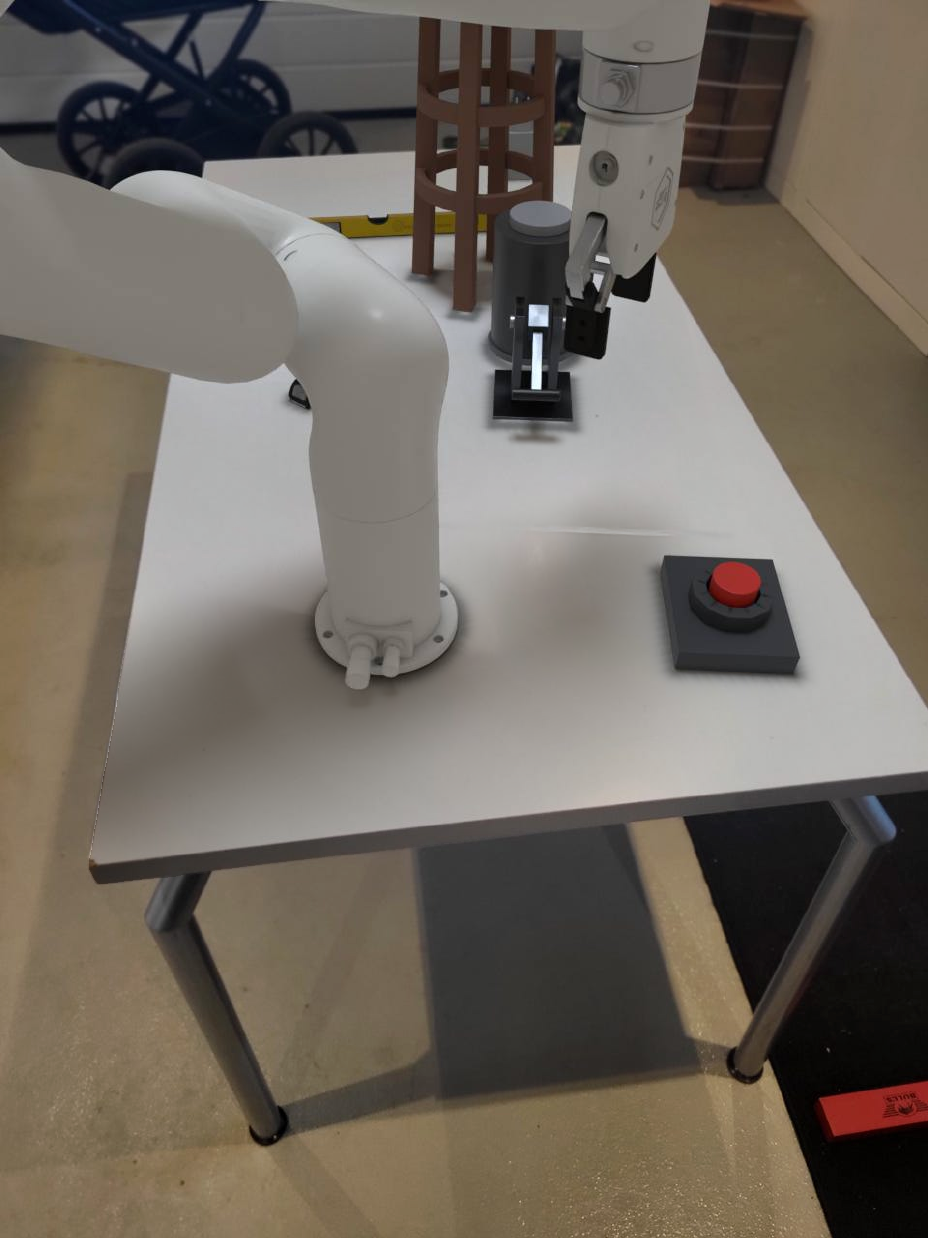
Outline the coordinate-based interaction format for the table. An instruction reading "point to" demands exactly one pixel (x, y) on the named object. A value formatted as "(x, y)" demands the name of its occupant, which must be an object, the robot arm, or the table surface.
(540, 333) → the kettle switch
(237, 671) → the table surface
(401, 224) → the spirit level
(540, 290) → the kettle
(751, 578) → the power button
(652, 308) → the table surface
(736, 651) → the power block
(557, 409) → the switch bracket
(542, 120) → the stool
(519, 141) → the power adapter
